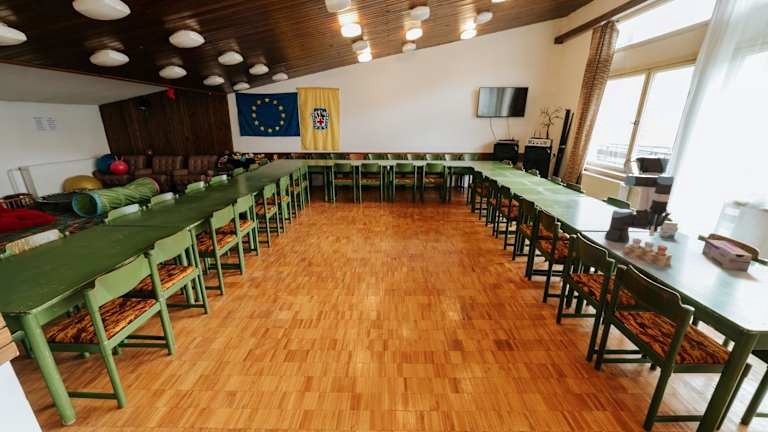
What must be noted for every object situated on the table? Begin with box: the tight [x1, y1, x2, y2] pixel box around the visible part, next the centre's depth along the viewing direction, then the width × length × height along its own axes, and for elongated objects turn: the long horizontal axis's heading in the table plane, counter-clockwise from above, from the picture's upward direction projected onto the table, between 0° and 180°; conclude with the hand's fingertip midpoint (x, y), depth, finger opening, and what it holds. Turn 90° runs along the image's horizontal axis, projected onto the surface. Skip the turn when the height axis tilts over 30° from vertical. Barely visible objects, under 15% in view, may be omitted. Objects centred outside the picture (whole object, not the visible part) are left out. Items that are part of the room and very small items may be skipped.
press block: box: [622, 242, 673, 268], centre depth 205 cm, size 22×10×6 cm, turn 27°
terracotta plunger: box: [657, 245, 668, 256], centre depth 198 cm, size 5×5×8 cm
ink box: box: [658, 220, 679, 239], centre depth 243 cm, size 9×5×12 cm, turn 58°
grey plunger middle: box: [644, 241, 655, 252], centre depth 204 cm, size 5×5×8 cm
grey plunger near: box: [631, 238, 642, 249], centre depth 210 cm, size 5×5×8 cm
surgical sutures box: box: [701, 239, 754, 273], centre depth 198 cm, size 25×11×11 cm, turn 158°
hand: (651, 235), depth 201 cm, fingers closed
